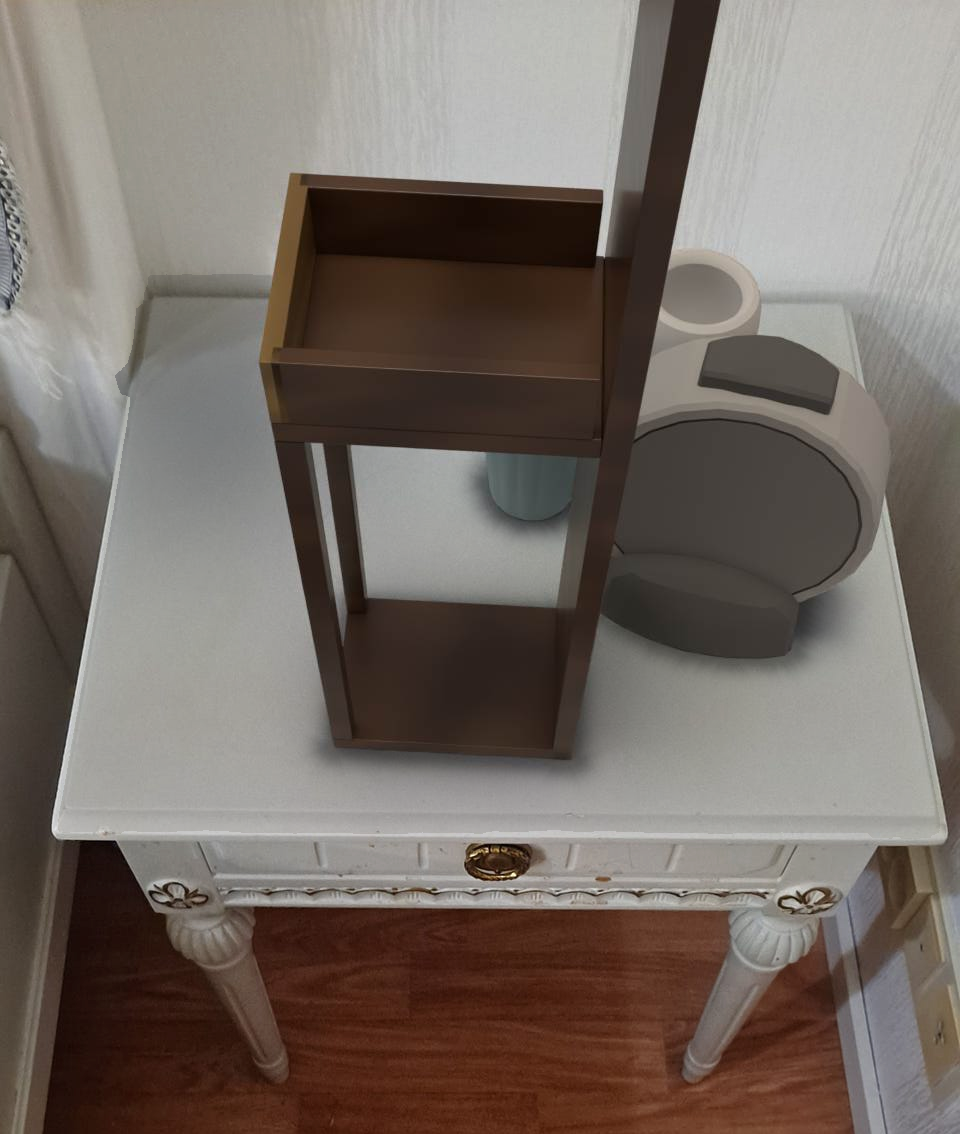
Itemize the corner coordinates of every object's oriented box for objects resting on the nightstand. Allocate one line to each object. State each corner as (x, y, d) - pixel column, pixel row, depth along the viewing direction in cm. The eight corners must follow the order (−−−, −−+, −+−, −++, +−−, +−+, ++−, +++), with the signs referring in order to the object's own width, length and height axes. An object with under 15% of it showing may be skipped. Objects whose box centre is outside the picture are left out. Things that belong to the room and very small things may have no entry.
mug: (611, 338, 82) (627, 240, 75) (731, 336, 82) (758, 238, 75) (627, 473, 77) (646, 382, 70) (754, 471, 78) (785, 380, 70)
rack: (333, 747, 69) (180, -32, 30) (349, 605, 73) (232, -243, 34) (571, 760, 69) (721, -3, 30) (574, 617, 73) (710, -218, 34)
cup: (614, 501, 76) (635, 378, 67) (518, 554, 74) (526, 436, 65) (546, 426, 79) (558, 297, 69) (451, 476, 77) (450, 350, 67)
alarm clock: (839, 551, 75) (951, 320, 58) (814, 682, 71) (926, 475, 54) (595, 494, 77) (636, 252, 60) (558, 619, 73) (589, 398, 56)
